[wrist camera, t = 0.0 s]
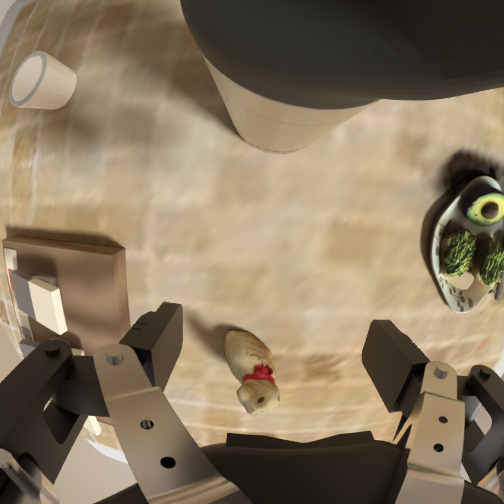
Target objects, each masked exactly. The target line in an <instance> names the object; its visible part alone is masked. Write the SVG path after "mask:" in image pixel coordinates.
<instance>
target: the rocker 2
mask: <svg viewBox="0 0 504 504" xmlns="http://www.w3.org/2000/svg"><path fill="white" fill-rule="evenodd" d="M50 399H51V401H52V398H50ZM83 427H84V428H86V429H87V430H89V431H91V432H92V433H94V434H96V435H97V436H98V435H99V433H100V432H101V431H102V430H101V428H100V426H99V424H98V421H97V419H96V417H95V416H88V418H87V420H86V422H85V423H84V425H83Z"/></svg>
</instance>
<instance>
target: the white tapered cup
mask: <svg viewBox="0 0 504 504" xmlns="http://www.w3.org/2000/svg"><path fill="white" fill-rule="evenodd" d="M76 83H77V79H76V74H75V73H74V71H72V70H71V69H70V68H68V67H67V66H65V65H64V64H62V63H61V62H59V61H58V60H56V59H55V58H53V57H52V56H50V55H49V54H47V53H46V52H44V51H40V50H38V51H36V52H33V53H31V54H30V55H29V56H28V57H26V58H25V59H24V60H23V62H22V63H21V64H20V65H19V67H18V68H17V70H16V72H15V74H14V76H13V78H12V81H11V84H10V88H9V101H10V103H11V105H12V106H14V107H20V108H37V109H49V110H55V109H59V108H61V107H62V106H64V105H65V104H66V103H67V102H68V100H69V99H70V98H71V96H72V94H73V92H74V91H75V87H76Z"/></svg>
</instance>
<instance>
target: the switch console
mask: <svg viewBox="0 0 504 504" xmlns="http://www.w3.org/2000/svg"><path fill="white" fill-rule="evenodd" d="M2 243H3V252H4V259H5V266H6V272H7V278H8V283H9V288H10V293H11V298H12V302H13V306H14V310H15V314H16V318H17V322H18V325H19V328H20V332H21V335H22V338H23V339H27V340H31V341H36V342H41V343H43V342H45V341H48V340H62V341H65V342H67V343H68V344H69V345H70V346H71V348H73V349H79V350H83V351H84V355H85V356H93V355H94V352H95V351H96V350H97V349H98V348H100V347H101V346H104V345H107V344H118V343H119V342H120V340H121V339H122V338H123V337H124V336H125V334H126V333H127V332H128V331H129V330H130V329H131V325H130V316H129V306H128V295H127V281H126V262H125V248H118V247H109V246H101V245H92V244H83V243H75V242H66V241H58V240H49V239H41V238H33V237H25V236H17V235H15V236H13V237H10V238H7V239H4V240H2ZM17 269H18V270H20V271H22V272H24V273H26V274H28V275H30V276H39V278H40V280H41V281H44V282H46V283H48V284H50V285H53V286H55V287H57V288H59V290H60V296H61V302H62V307H63V312H64V317H65V322H66V326H67V331H66V332H64V333H63V334H61V335H59V334H57V333H56V332H54V331H52V330H51V329H49V328H47V327H46V326H44V325H42V324H41V323H39V322H38V321H36V320H35V319H33V318H31V317H30V316H28V315H27V314H25V313H24V312H22V311H21V310H19V309H18V305H17V301H16V297H15V292H14V287H13V282H12V276H11V272H12V271H15V270H17ZM49 400H50V401H51V399H49ZM95 417H96V419H97V421H99V422H102V423H105V424H108V425H111V426H113V424H112V421H111V418H110V417H98V416H95Z"/></svg>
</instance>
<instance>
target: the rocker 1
mask: <svg viewBox="0 0 504 504" xmlns="http://www.w3.org/2000/svg"><path fill="white" fill-rule="evenodd" d="M11 276H12V282H13V287H14V292H15V297H16V301H17V305H18V309H19V310H21V311H22V312H24V313H25V314H27V315H28V316H30V317H31V318H33V319H35V320H36V321H38V322H39V323H41V324H42V325H44V326H46V327H47V328H49V329H51V330H52V331H54V332H56V333H57V334H59V335H61V334H63V333H64V332H66V331H67V326H66V322H65V317H64V312H63V307H62V302H61V296H60V290H59V288H57V287H55V286H53V285H50V284H48V283H46V282H44V281H41V280H40V278H39V276H30V275H28V274H26V273H24V272H22V271H20V270H18V269H17V270H15V271H12V272H11Z"/></svg>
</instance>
